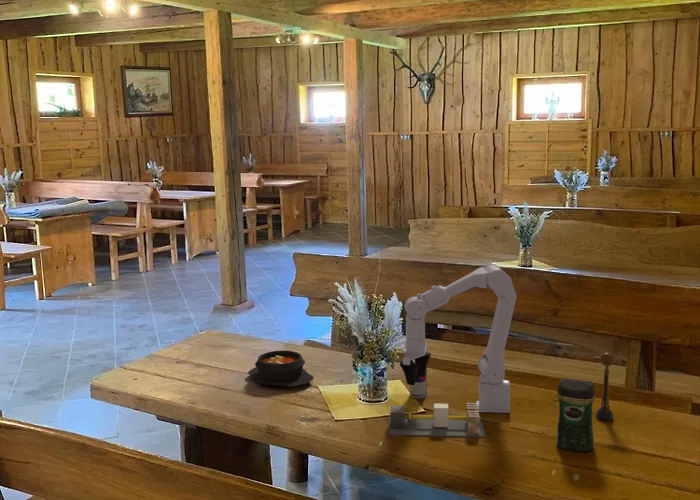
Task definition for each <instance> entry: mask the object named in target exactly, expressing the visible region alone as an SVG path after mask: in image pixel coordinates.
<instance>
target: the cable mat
mask: <svg viewBox="0 0 700 500" xmlns="http://www.w3.org/2000/svg"><path fill="white" fill-rule="evenodd" d="M485 434H486V433H485V429H484V425H483V419H482V418H481V417H480V423H479V434H468V428H467V421H466V420H448V427H434V420H426V419H411V422H408V419H405V426H404V429H390V418H389V421H388V433H387V435H388V436H398V437H400V436H401V437H403V436H405V437H406V436H407V437H413V436H414V437H451V438H452V437H453V438H454V437H456V438H486V435H485Z"/></svg>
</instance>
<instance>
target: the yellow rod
mask: <svg viewBox="0 0 700 500" xmlns="http://www.w3.org/2000/svg"><path fill="white" fill-rule="evenodd" d="M404 419H408V414H405V415H404ZM411 419H426V420H434V414H430V415H429V414H423V415H422V414H411ZM448 420H468V416H466V415H448Z"/></svg>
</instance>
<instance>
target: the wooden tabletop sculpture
mask: <svg viewBox="0 0 700 500" xmlns="http://www.w3.org/2000/svg"><path fill="white" fill-rule="evenodd" d="M594 361H597V362H600V363H601V365H603V366H605V367H604V368H603V371H604V372H603V387H602V390H603V391H602V399H601V404H600V407H599V408H598V409H597V410H596V413H595V418H596V420H599V421H601V422H611V421H613V420H614V414H613V410H611V408H610V401H609V379H610V376H609V375H610V371H611V370H610V368H609V367H611V366H613V364H614V363H615V357H614V355H613V354H611V353H609V352H604V353H602V354H601V355H600V356H594Z"/></svg>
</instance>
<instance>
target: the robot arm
mask: <svg viewBox="0 0 700 500" xmlns="http://www.w3.org/2000/svg"><path fill="white" fill-rule="evenodd" d="M512 280H513V279H512V278H511V277H510V275H509V274H507V272H506V271H504V270H502V269H501V268H500V266H499V265H497V264H495V263H488V264H486V265H484V267H483V266H482V267H478V268H477V269H475V270H473V271H471V272H470V273H468V274H466V275H465V276H463V277H461V278H459V279H457V280H455V281H454V282H452V283H450V284H448V285H446V286H443V285H437V286H436V285H433V286H431V289H429V290H426V291H424V292H422V293H417V294H416V296H411V297H409V298H407V300H406V301H405V302H404V305H403V308H404V311H405V313H406V314H405V315H406V316H405V348H404V349H402V353H404V356H403V357H402V360H401V361H400V362H399V366H400V367H401V369H402V372H403V374H404V377H405V381H406V384H407V385H408V386H410V385H414V384H415V380H416V372H417V376H420V377H424V376H425V372H426V367H427V368H428V363H429V360H430V358H431V357H432V353H431V352H428V350H429V346H428V345H429V344H426V322H425V317H426V315H427V313H430V312H432V311H433V310H435V309H438V308H440V307H442V306H444V305H446V304H448V303H449V301H450V298H451V297H454V296H456V295H458V294H460V293H463V292H465V291H468V290H470V289H472V288H475V287H477V288H481V289H487V286H488V287H489V288H490V289H491V290H492V291H493V292H494V293H495V295H496V296H497V301H496V302H497V304H496V307H495V312H494V316H493V319H492V324H491V328H490V333H489V337H488V342H487V346H486V348H484V350H483V353H482V355H481V357H480V358H479V360H478V361H477V368H478V371H480V375H479V377H478V400H476V402H475V403H477V407H478V412H479V413H506V414H507V413H508V414H509V413H511V382H510V380H507V379H505V376H506V371H505V362H506V361H505V348H506V343H507V340H508V335H509V331H510V327H511V323H512V319H513V314H514V310H515V306H516V301H517V297H518V296H517V293H516V290H515V287H514V284H513V281H512ZM413 360H415V363H414V362H413Z"/></svg>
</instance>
